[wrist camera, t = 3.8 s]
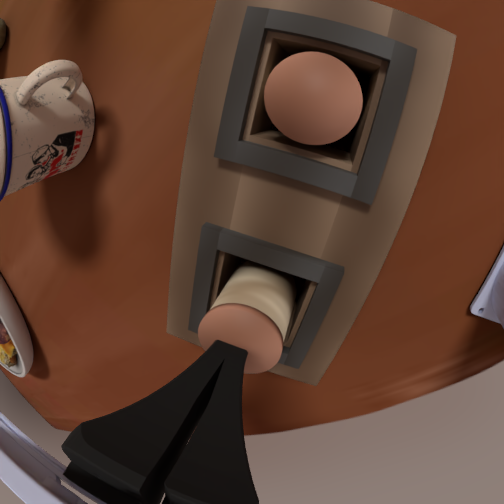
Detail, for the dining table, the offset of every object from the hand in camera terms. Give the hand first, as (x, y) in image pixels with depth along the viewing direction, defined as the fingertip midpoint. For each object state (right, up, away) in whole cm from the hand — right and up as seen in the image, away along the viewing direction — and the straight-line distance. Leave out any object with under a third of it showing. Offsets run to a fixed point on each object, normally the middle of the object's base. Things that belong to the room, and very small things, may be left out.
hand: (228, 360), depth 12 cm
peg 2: (+5, +13, +3) cm, 14 cm away
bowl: (-47, -4, +29) cm, 55 cm away
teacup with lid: (-14, +16, +8) cm, 23 cm away
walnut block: (+4, +8, +6) cm, 11 cm away
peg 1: (+2, +2, +6) cm, 7 cm away
